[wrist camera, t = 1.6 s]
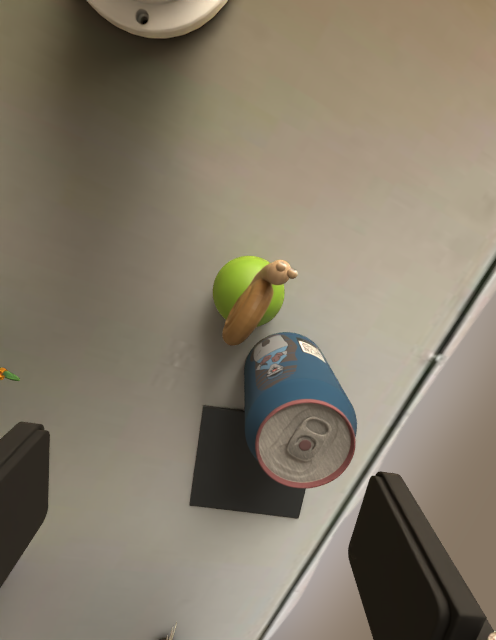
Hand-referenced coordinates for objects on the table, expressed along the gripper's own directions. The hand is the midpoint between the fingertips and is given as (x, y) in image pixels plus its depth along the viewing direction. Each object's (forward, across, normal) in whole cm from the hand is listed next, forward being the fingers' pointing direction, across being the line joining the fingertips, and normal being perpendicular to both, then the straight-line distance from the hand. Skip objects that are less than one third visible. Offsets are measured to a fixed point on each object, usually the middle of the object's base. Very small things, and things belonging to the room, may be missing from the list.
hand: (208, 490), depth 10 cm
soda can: (+21, -5, +4) cm, 22 cm away
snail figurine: (+21, -1, -3) cm, 22 cm away
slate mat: (+21, -4, +15) cm, 26 cm away
